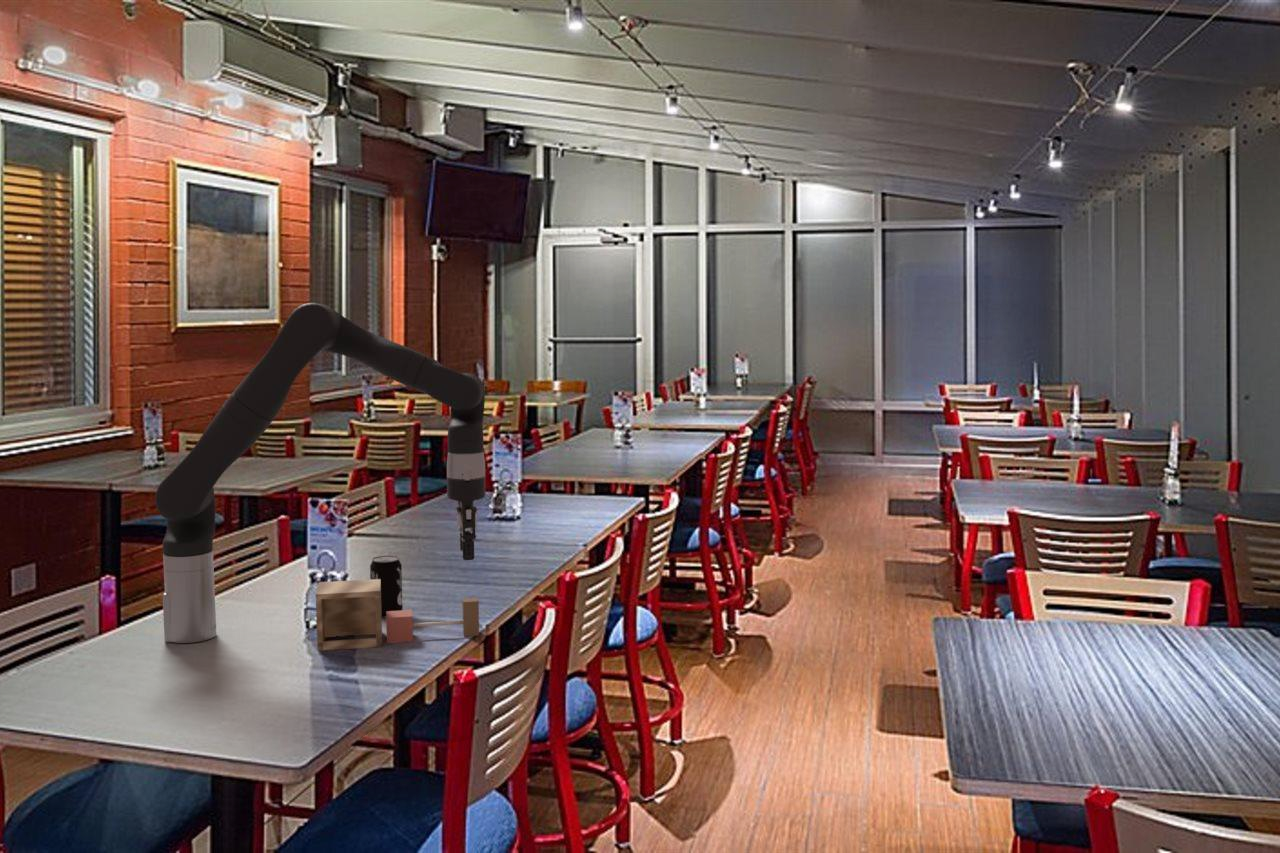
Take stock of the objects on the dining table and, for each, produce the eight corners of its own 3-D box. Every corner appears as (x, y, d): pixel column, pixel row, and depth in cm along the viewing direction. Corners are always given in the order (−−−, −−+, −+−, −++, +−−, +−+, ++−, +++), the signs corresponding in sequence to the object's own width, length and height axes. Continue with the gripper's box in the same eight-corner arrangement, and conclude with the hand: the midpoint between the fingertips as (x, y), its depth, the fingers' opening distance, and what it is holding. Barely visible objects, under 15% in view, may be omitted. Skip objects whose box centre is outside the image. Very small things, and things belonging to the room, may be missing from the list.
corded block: (386, 642, 228) (386, 607, 227) (386, 635, 232) (386, 601, 232) (479, 636, 231) (478, 602, 231) (477, 630, 236) (476, 596, 235)
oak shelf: (317, 650, 222) (315, 594, 221) (320, 636, 232) (318, 582, 231) (381, 646, 225) (380, 590, 224) (382, 632, 235) (380, 579, 233)
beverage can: (395, 618, 246) (393, 562, 244) (366, 616, 247) (364, 560, 246) (407, 610, 252) (406, 555, 251) (379, 608, 253) (377, 554, 252)
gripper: (445, 470, 236) (446, 548, 238) (448, 480, 222) (449, 563, 224) (482, 469, 238) (483, 547, 240) (488, 479, 224) (489, 562, 226)
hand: (467, 555), depth 232 cm, fingers open, 8 cm apart
